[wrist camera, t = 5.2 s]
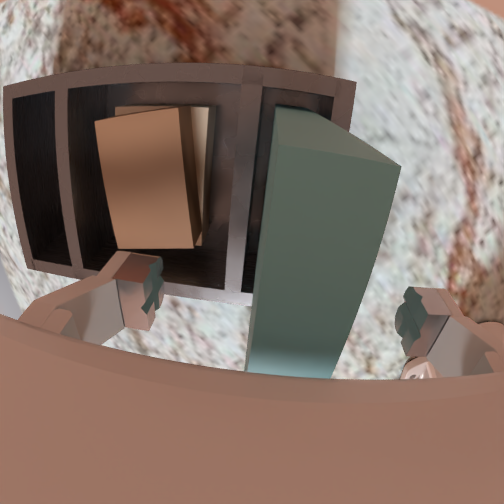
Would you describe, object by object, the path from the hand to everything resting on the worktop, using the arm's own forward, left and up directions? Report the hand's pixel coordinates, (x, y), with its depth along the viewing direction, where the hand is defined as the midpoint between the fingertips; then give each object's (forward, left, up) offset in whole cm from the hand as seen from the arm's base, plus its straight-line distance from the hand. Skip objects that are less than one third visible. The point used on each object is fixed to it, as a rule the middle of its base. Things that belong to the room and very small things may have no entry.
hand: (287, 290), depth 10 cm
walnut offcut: (0, +8, -10) cm, 13 cm away
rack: (0, +9, -14) cm, 17 cm away
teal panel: (0, 0, -13) cm, 13 cm away
